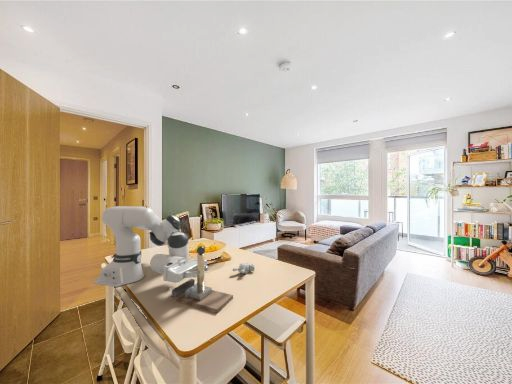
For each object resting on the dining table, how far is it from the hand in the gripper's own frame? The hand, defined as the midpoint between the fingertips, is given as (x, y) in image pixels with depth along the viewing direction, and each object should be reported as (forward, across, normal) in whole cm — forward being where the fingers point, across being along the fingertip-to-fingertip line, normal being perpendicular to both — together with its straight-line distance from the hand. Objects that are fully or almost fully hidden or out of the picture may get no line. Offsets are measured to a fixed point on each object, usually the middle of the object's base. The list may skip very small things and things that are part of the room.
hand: (202, 271), depth 89 cm
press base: (0, 0, -12) cm, 12 cm away
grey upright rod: (-2, 0, -10) cm, 10 cm away
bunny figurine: (+4, -34, -12) cm, 36 cm away
